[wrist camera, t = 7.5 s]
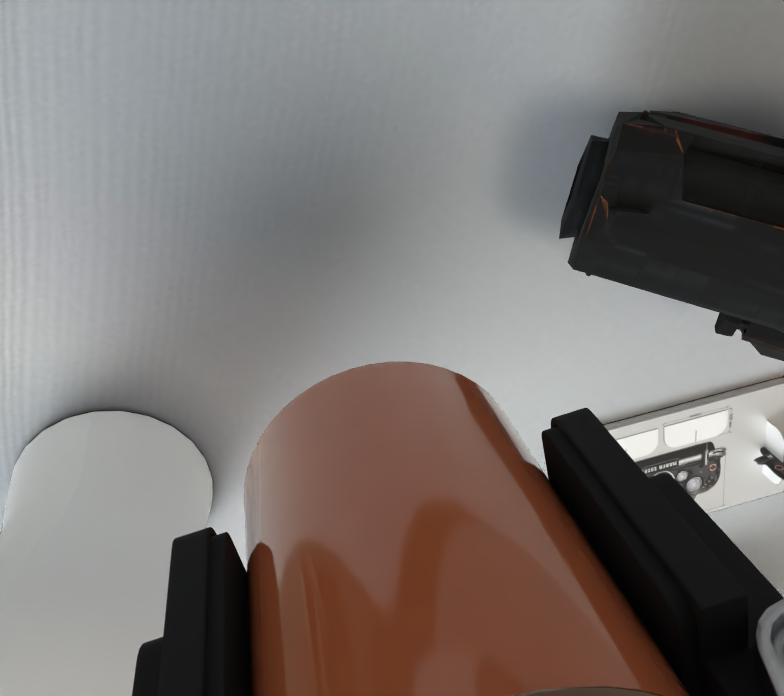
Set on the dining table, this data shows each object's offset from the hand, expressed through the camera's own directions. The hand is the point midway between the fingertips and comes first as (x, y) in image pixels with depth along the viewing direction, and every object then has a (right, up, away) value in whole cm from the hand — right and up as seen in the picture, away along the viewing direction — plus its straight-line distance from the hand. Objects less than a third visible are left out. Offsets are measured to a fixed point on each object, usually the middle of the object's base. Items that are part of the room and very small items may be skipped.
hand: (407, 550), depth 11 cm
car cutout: (+16, -2, +25) cm, 29 cm away
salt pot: (0, +1, +2) cm, 2 cm away
